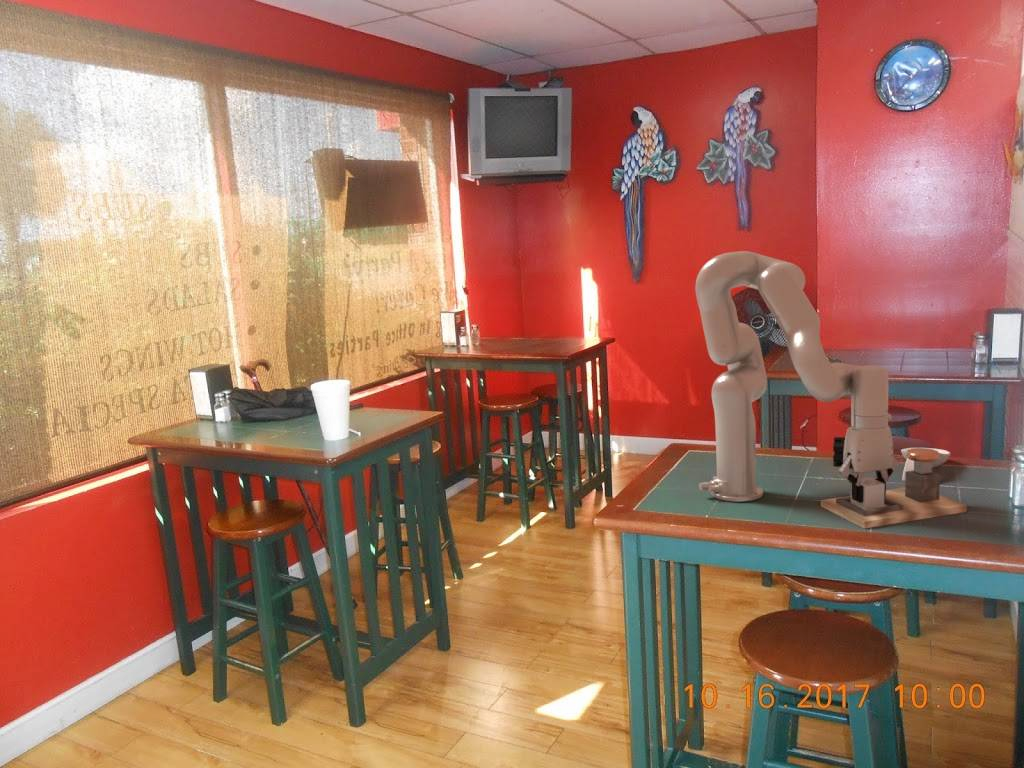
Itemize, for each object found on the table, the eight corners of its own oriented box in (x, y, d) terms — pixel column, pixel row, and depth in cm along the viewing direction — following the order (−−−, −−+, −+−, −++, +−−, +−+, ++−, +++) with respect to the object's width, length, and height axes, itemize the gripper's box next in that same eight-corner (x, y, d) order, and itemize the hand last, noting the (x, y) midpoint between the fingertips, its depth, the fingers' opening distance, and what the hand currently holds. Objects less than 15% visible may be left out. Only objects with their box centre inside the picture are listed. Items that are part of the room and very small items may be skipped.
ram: (920, 486, 183) (920, 457, 182) (900, 479, 190) (901, 450, 188) (944, 483, 185) (945, 453, 184) (924, 475, 191) (925, 446, 190)
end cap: (861, 468, 218) (861, 444, 217) (833, 467, 221) (833, 443, 220) (861, 458, 227) (861, 434, 226) (834, 457, 230) (834, 434, 229)
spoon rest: (905, 457, 226) (905, 432, 225) (952, 461, 219) (953, 435, 218) (888, 481, 207) (888, 453, 206) (939, 486, 200) (940, 458, 199)
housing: (850, 502, 187) (851, 478, 186) (869, 499, 188) (870, 476, 187) (864, 510, 183) (865, 485, 181) (883, 507, 184) (884, 482, 182)
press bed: (864, 528, 176) (864, 495, 175) (820, 506, 191) (820, 475, 190) (966, 511, 182) (967, 479, 180) (916, 491, 197) (916, 461, 196)
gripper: (891, 413, 187) (890, 489, 190) (825, 422, 183) (825, 499, 186) (914, 420, 180) (912, 499, 183) (846, 429, 176) (845, 509, 179)
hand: (868, 498), depth 185 cm, fingers closed on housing, 5 cm apart
